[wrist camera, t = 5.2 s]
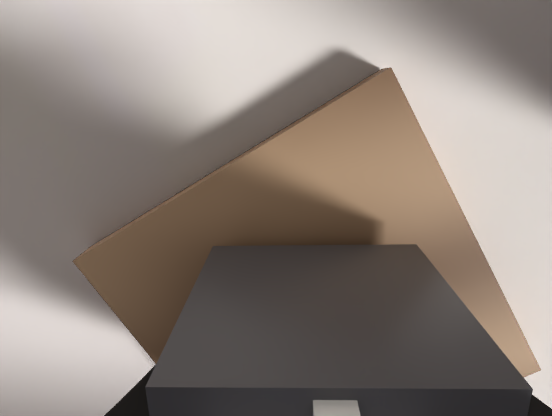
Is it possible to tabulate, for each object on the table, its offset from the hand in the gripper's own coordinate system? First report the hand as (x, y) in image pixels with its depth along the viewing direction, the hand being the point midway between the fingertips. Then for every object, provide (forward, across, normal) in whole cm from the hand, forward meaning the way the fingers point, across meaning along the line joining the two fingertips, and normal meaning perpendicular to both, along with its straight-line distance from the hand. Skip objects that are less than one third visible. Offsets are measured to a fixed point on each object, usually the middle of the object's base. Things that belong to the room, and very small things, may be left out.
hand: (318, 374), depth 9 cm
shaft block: (+3, 0, 0) cm, 3 cm away
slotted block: (+2, 0, 0) cm, 2 cm away
